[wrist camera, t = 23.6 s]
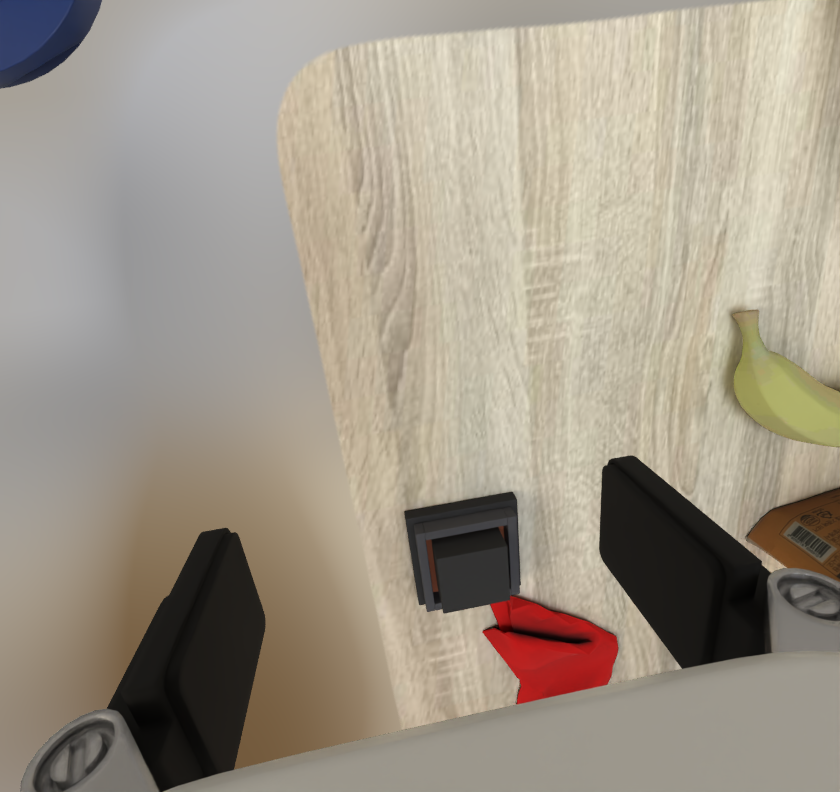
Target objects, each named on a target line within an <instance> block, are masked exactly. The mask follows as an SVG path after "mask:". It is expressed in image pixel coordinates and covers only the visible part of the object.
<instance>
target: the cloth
mask: <svg viewBox="0 0 840 792" xmlns="http://www.w3.org/2000/svg"><path fill="white" fill-rule="evenodd" d="M490 605H491V608H492V610H493V612H494V615H495V617H496V620H497V622H498V625H499V628H500V630H501V631H500V630H498V629H496V628H493V629H489V630H485V631H483V633H484V635H485V636H486V637H487V639H488V640H489V641H490V642H491V644H492V645H493V646H494V648H495V649H496V650H497V652H498V653H499V654H500V655H501V657H502V658H503V659H504V660H505V662H506V663H507V664H508V666H509V667H510V668H511V670H512V671H513V673H514V674H515V675H516V677H517V678H519V679H520V684H521V688H520V690H519V693H518V699H517V704H522V703H526V702H531V701H535V700H540V699H544V698H549V697H553V696H558V695H563V694H567V693H572V692H576V691H581V690H586V689H590V688H595V687H600V686H604V685H607V684H608V682H609V680H610V678H611V675H612V668H613V664H614V662H615V659H616V656H617V653H618V643H617V637H616V636H614V635H612V634H610V633H608V632H606V631H604V630H603V629H601V628H599V627H597V626H596V625H594V624H592V623H590V622H587V621H584V620H581V619H578V618H575V617H572V616H569V615H566V614H563V613H558V612H554V611H549V610H547V609H545V608H543V607H542V606H540V605H538V604H535V603H532V602H529V601H526V600H523V599H519V598H516V597H513V596H510V600H508V601H503V602H499V603H494V604H490Z"/></svg>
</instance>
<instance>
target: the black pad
mask: <svg viewBox="0 0 840 792" xmlns="http://www.w3.org/2000/svg"><path fill="white" fill-rule="evenodd" d="M431 542H432V549H433V557H434V564H435V572H436V579H437V586H438V591H439V595H440V600H441V604H442V608H443V613H449V612H454V611H459V610H464V609H469V608H474V607H479V606H484V605H489V604H494V603H499V602H503V601H508V600H510V585H509V567H508V549H507V544H506V542H505V540H504V538H503V536H502V534H501V532H500V530H499V527H495V528H490V529H484V530H479V531H474V532H468V533H463V534H458V535H452V536H447V537H442V538H436V539H431Z"/></svg>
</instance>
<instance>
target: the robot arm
mask: <svg viewBox="0 0 840 792" xmlns="http://www.w3.org/2000/svg"><path fill="white" fill-rule="evenodd" d="M599 550H600V555H601V557H602V560H603V562H604V563H605V565H606V566H607V567H608V569H609V570H610V571H611V573H612V574H613V575H614V577H615V578H616V580H617V581H618V582H619V584H620V585H621V586H622V588H623V589H624V590H625V592H626V593H627V594H628V596H629V597H630V599H631V600H632V601H633V603H634V604H635V605H636V607H637V608H638V609H639V611H640V612H641V613H642V615H643V616H644V618H645V619H646V620H647V622H648V623H649V624H650V626H651V627H652V628H653V630H654V631H655V632H656V634H657V635H658V637H659V638H660V639H661V641H662V642H663V643H664V645H665V646H666V647H667V649H668V650H669V651H670V653H671V654H672V656H673V657H674V658H675V660H676V661H677V662H678V664H679V665H680V666H681V668H682V669H679V670H674V671H669V672H665V673H660V674H655V675H651V676H646V677H641V678H637V679H632V680H627V681H623V682H618V683H614V684H609V685H604V686H600V687H595V688H590V689H586V690H581V691H576V692H572V693H567V694H563V695H558V696H553V697H549V698H544V699H540V700H535V701H531V702H526V703H522V704H517V705H513V706H508V707H504V708H499V709H495V710H490V711H486V712H481V713H477V714H472V715H468V716H463V717H459V718H454V719H450V720H445V721H441V722H436V723H432V724H427V725H423V726H418V727H414V728H410V729H405V730H401V731H397V732H393V733H388V734H383V735H379V736H375V737H370V738H366V739H362V740H357V741H353V742H348V743H344V744H340V745H336V746H331V747H327V748H322V749H318V750H314V751H310V752H305V753H300V754H297V755H293V756H288V757H284V758H280V759H276V760H272V761H268V762H264V763H260V764H256V765H252V766H248V767H244V768H240V769H236V770H234V767H235V762H236V758H237V753H238V748H239V744H240V740H241V735H242V731H243V726H244V722H245V717H246V713H247V708H248V703H249V699H250V695H251V690H252V685H253V681H254V677H255V672H256V668H257V663H258V658H259V654H260V649H261V645H262V641H263V636H264V632H265V614H264V611H263V608H262V605H261V602H260V599H259V596H258V593H257V590H256V587H255V584H254V581H253V578H252V575H251V572H250V569H249V566H248V563H247V560H246V557H245V554H244V551H243V548H242V544H241V541H240V539H239V536H238V534H237V533H235V532H234V533H231V532H230V531H229V529H228V528H222V529H216V530H211V531H205V532H202V533H201V534H200V535H199V537H198V539H197V541H196V543H195V545H194V547H193V549H192V551H191V553H190V555H189V557H188V559H187V561H186V563H185V565H184V567H183V569H182V571H181V573H180V575H179V577H178V579H177V581H176V583H175V585H174V587H173V589H172V591H171V593H170V595H169V596H167V597H166V598H164V600H163V601H162V603H161V604H160V606H159V608H158V610H157V612H156V614H155V616H154V618H153V620H152V622H151V624H150V625H149V627H148V629H147V631H146V633H145V635H144V637H143V639H142V641H141V643H140V645H139V647H138V649H137V651H136V653H135V655H134V657H133V659H132V661H131V663H130V665H129V666H128V668H127V670H126V672H125V674H124V676H123V678H122V680H121V682H120V684H119V686H118V688H117V690H116V692H115V694H114V696H113V698H112V699H111V701H110V703H109V705H108V707H107V709H103V710H95V711H93V712H90V713H88V714H85V715H82V716H80V717H79V718H77V719H75V720H74V721H72V722H70V723H69V724H67V725H66V726H64V727H63V728H62V729H60V730H59V731H58V732H57V733H56V734H54V735H53V736H52V737H51V738H50V739H49V740H48V741H47V742H46V743H45V744H44V745H43V746H42V747H41V748H40V749H39V750H38V752H37V753H36V754H35V756H34V757H33V759H32V760H31V762H30V763H29V765H28V766H27V768H26V771H25V773H24V776H23V778H22V781H21V790H20V792H840V582H838V581H836V580H834V579H832V578H830V577H828V576H826V575H823V574H820V573H817V572H814V571H811V570H805V569H799V568H783V569H779V570H776V571H774V572H773V573H770V572H769V571H768V570H767V569H766V568H765V567H763V566H762V565H761V564H762V561H761V560H760V559H758V558H757V557H756V556H755V555H753V554H752V553H751V552H750V551H749V550H747V549H746V548H745V547H744V546H743V545H741V544H740V543H739V542H738V541H737V540H735V539H734V538H733V537H732V536H731V535H729V534H728V533H727V532H726V531H725V530H723V529H722V528H721V527H720V526H718V525H717V524H716V523H715V522H714V521H712V520H711V519H710V518H709V517H708V516H706V515H705V514H704V513H703V512H702V511H700V510H699V509H698V508H697V507H696V506H694V505H693V504H692V503H691V502H690V501H688V500H687V499H686V498H685V497H683V496H682V495H681V494H680V493H679V492H677V491H676V490H675V489H674V488H673V487H671V486H670V485H669V484H668V483H667V482H665V481H664V480H663V479H662V478H661V477H659V476H658V475H657V474H656V473H655V472H653V471H652V470H651V469H650V468H648V467H647V466H646V465H645V464H644V463H642V462H641V461H640V460H639V459H638V458H636V457H635V456H625V457H620V458H614V459H611V460H609V462H608V465H607V466H604V467H603V470H602V492H601V517H600V542H599Z"/></svg>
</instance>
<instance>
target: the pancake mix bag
mask: <svg viewBox="0 0 840 792" xmlns="http://www.w3.org/2000/svg"><path fill="white" fill-rule="evenodd" d="M746 541H748V542H750V543H752V544H753V545H755V546H757V547H759V548H760V549H762V550H763V551H765V552H766V553H768V554H769V555H770V556H772V557H773V558H775V559H776V560H777V561H779V562H780V563H781V564H783V565H784V566H786V567H787V568H799V569H805V570H811V571H814V572H817V573H820V574H823V575H826V576H828V577H830V578H832V579H834V580H836V581H838V582H840V488H838V489H835V490H832V491H829V492H826V493H823V494H820V495H817V496H814V497H811V498H808V499H805V500H802V501H799V502H796V503H792V504H789V505H785V506H782V507H779V508H775V509H772V510H771V511H770V512H769V513H767V514H766V515H765V516H764V517H762V518H761V519H760V521H759V522H758V523H757V524H756V526H755V527H754V528H753V529H752V531H751V532H750V534H749V535H748V537H747V539H746Z"/></svg>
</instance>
